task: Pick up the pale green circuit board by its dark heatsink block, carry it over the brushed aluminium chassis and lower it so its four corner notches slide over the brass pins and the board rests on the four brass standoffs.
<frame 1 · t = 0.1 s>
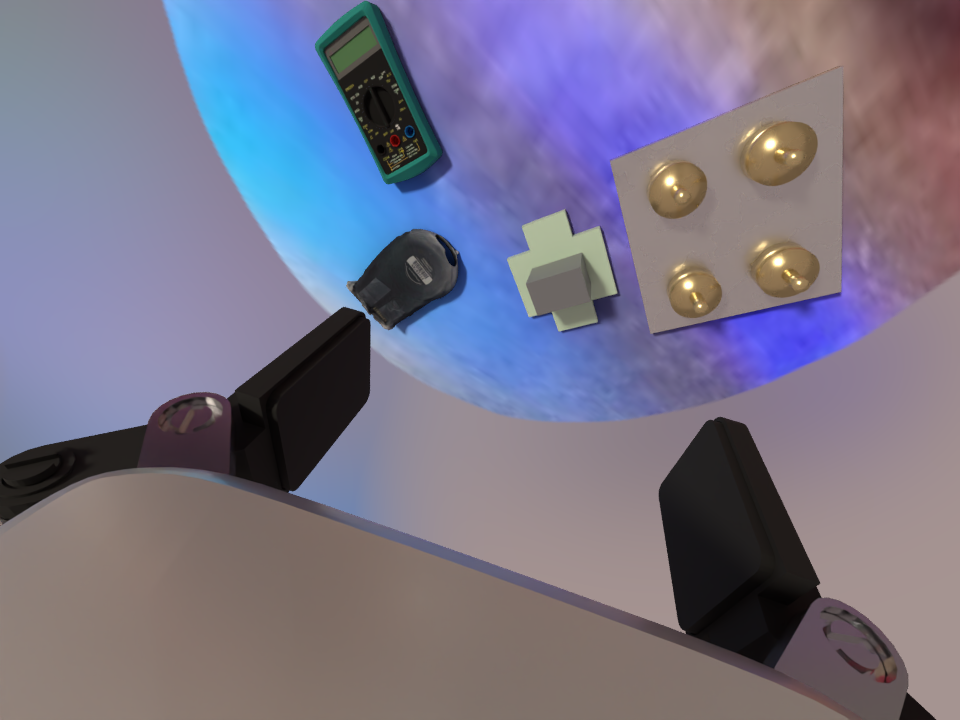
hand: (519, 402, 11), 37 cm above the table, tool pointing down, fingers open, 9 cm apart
digital multimeter: (388, 102, 42), on the table
chassis: (724, 224, 39), on the table
board: (561, 273, 46), on the table
electronic device: (412, 273, 52), on the table
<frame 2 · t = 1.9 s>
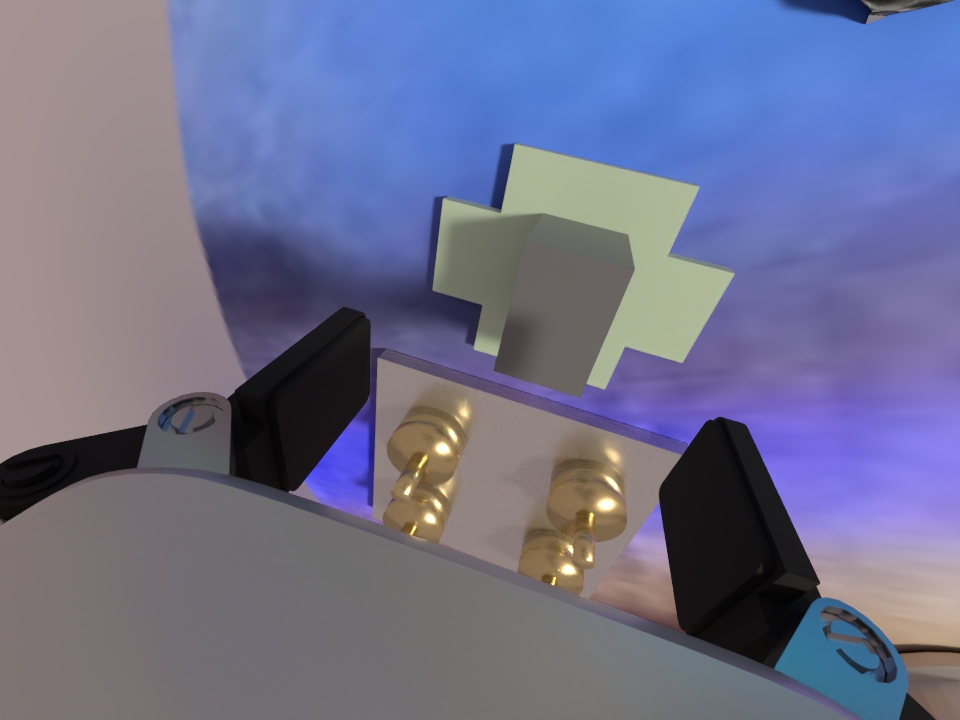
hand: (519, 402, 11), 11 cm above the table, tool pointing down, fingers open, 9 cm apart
chassis: (500, 482, 30), on the table
board: (567, 277, 20), on the table
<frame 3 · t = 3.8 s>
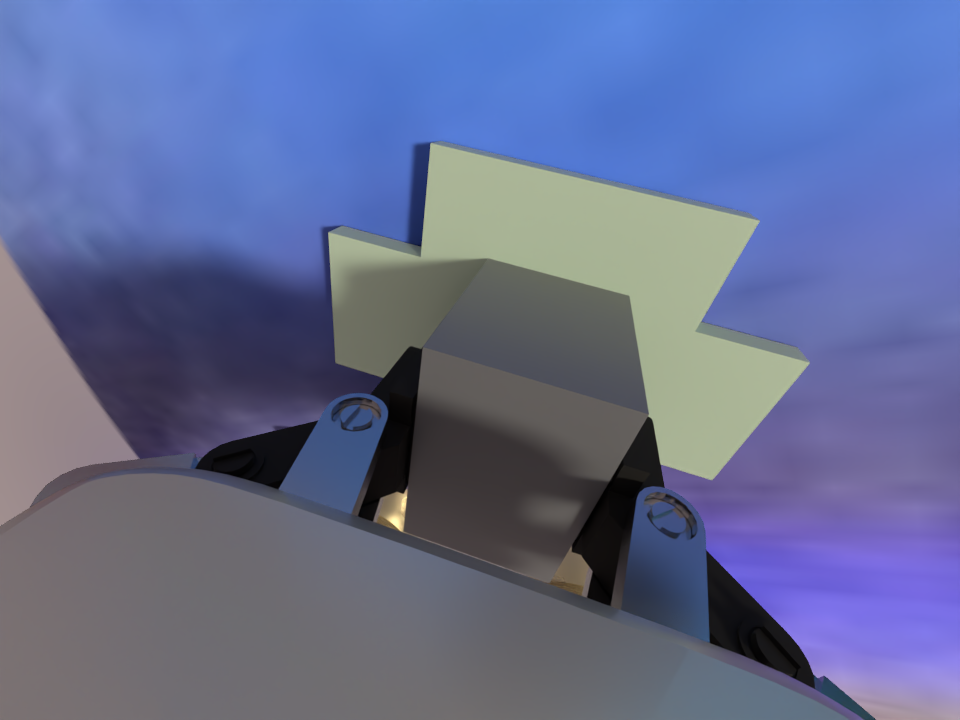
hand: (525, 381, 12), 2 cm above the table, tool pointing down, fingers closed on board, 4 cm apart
chassis: (461, 585, 23), on the table
board: (534, 350, 13), on the table, touching gripper
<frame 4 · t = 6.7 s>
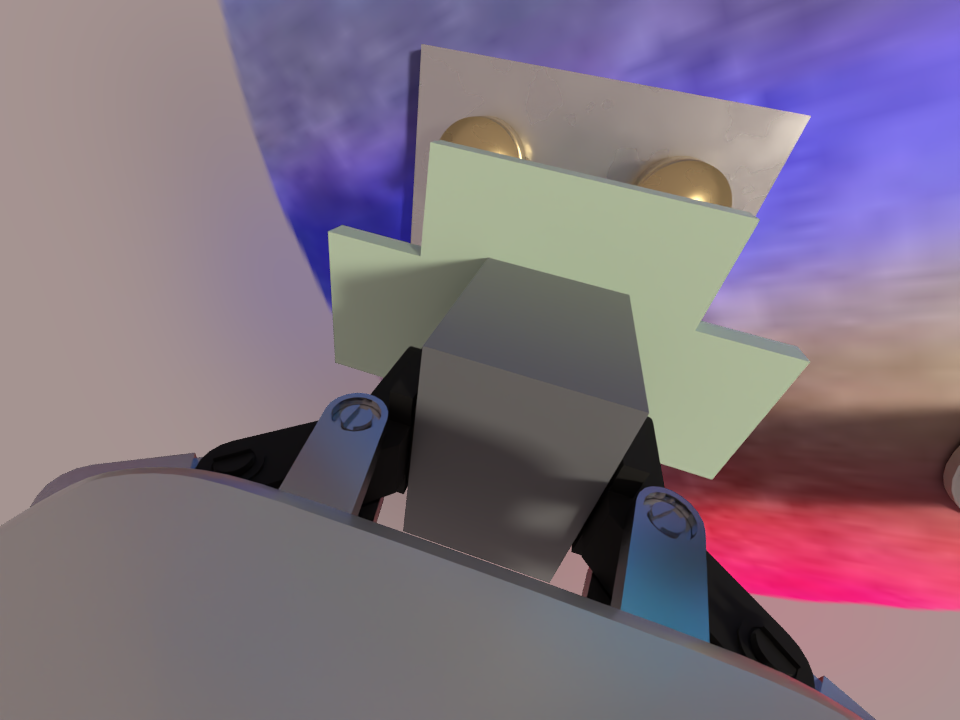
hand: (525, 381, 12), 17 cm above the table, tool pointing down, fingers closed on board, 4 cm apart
chassis: (558, 243, 26), on the table
board: (533, 349, 13), point 15 cm above the table, touching gripper
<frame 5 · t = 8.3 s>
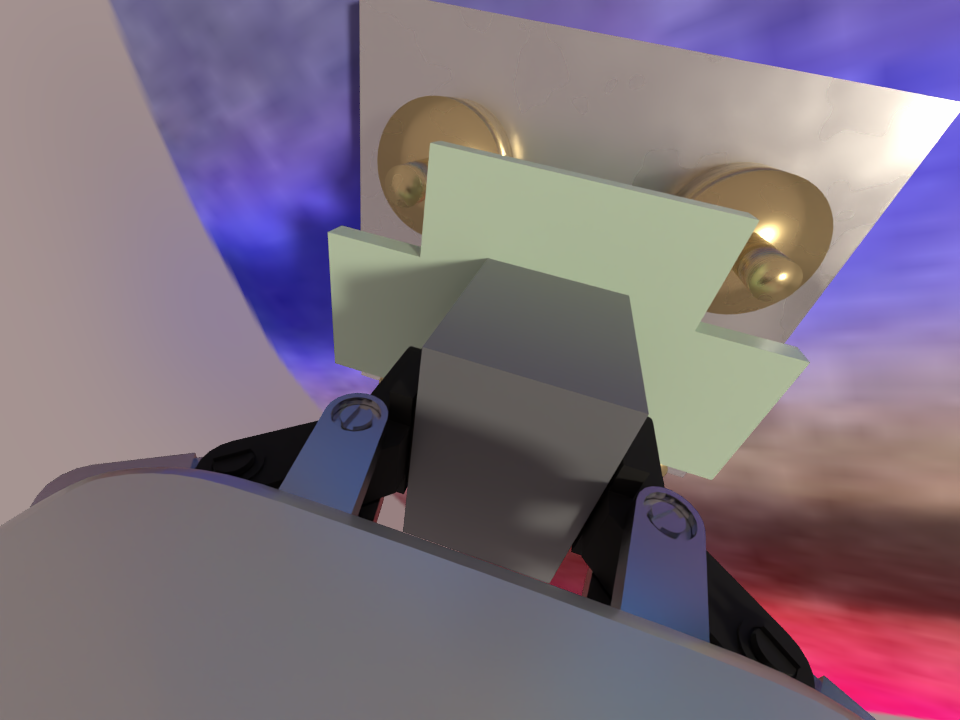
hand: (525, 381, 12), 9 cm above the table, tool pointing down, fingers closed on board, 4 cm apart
chassis: (559, 277, 19), on the table
board: (533, 350, 13), point 7 cm above the table, touching gripper
when the fingers open (7 cm above the table, at t = 9.5 s): board drops 1 cm, resting on chassis.
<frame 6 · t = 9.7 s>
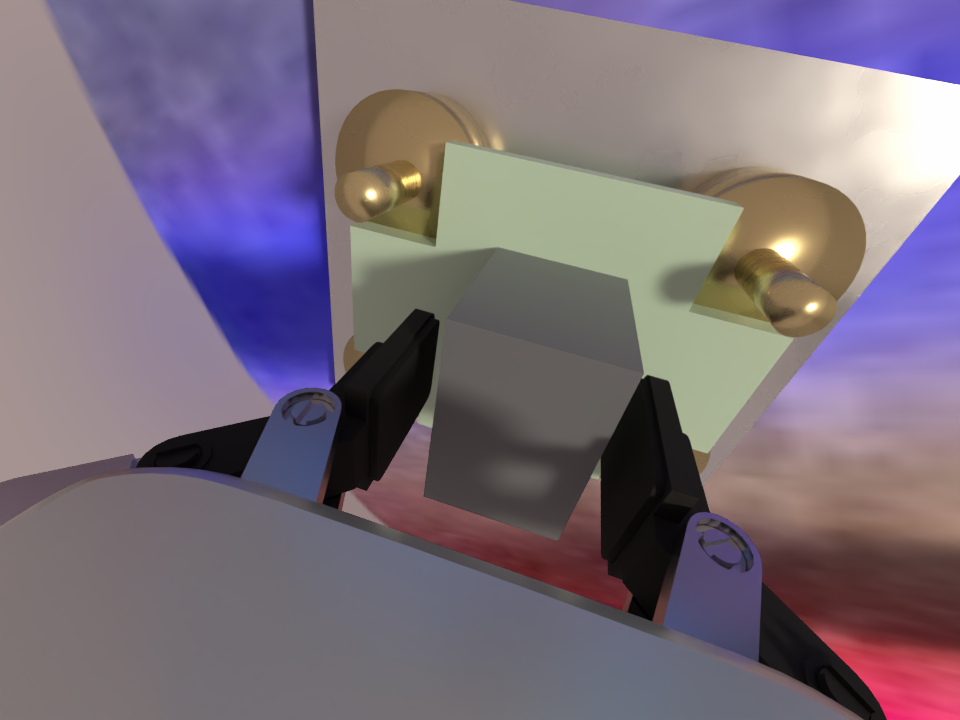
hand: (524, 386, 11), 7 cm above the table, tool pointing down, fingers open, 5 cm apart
chassis: (548, 293, 17), on the table
board: (540, 334, 14), point 4 cm above the table, touching chassis
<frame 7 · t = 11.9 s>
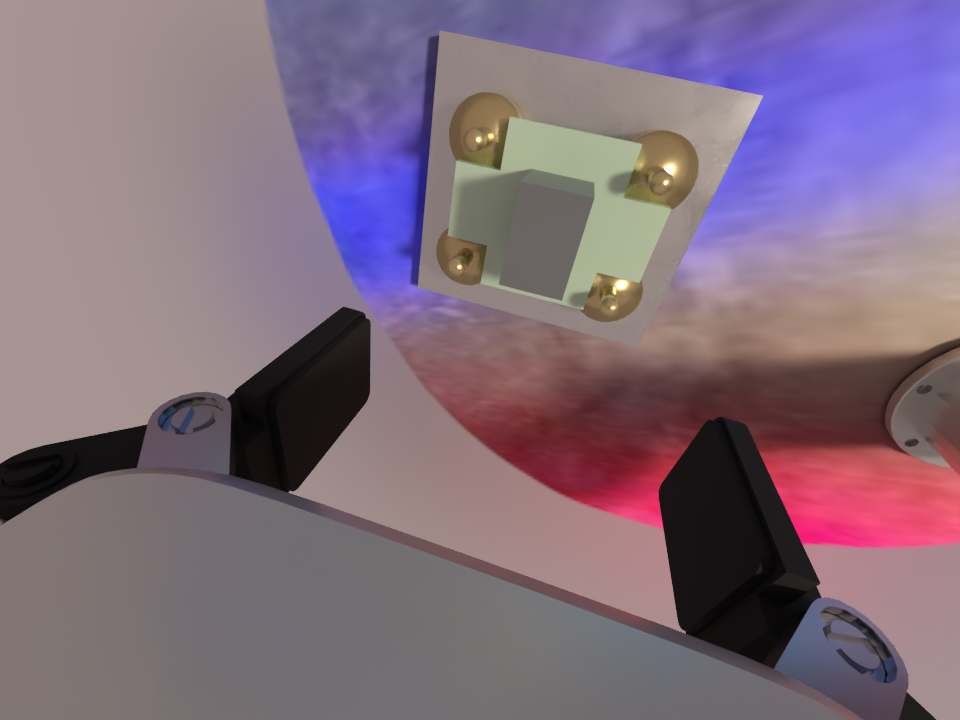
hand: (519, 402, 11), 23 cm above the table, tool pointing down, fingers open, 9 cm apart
chassis: (554, 208, 30), on the table
board: (551, 220, 27), point 4 cm above the table, touching chassis
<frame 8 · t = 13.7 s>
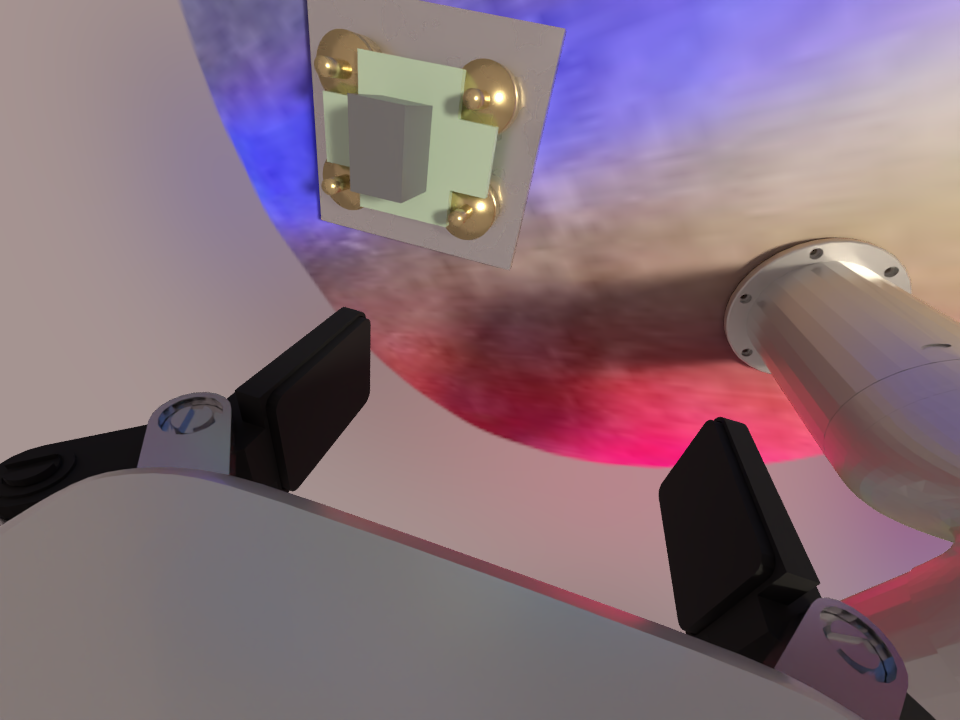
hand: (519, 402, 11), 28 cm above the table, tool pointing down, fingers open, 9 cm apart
chassis: (425, 141, 34), on the table
board: (409, 145, 31), point 4 cm above the table, touching chassis
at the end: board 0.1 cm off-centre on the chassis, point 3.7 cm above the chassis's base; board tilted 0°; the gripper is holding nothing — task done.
